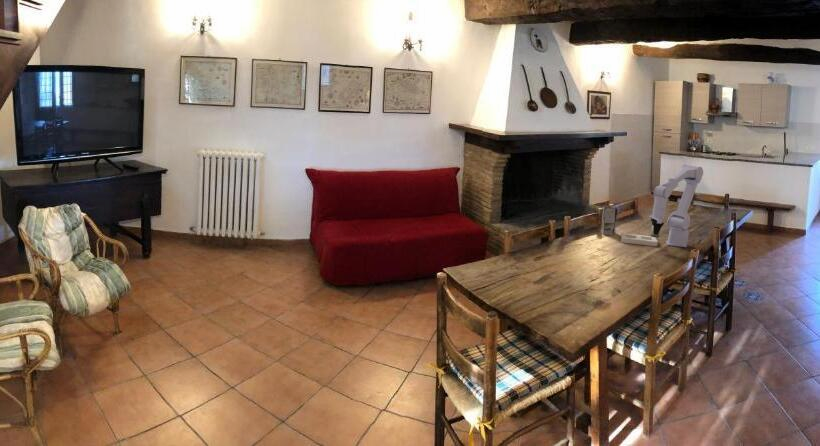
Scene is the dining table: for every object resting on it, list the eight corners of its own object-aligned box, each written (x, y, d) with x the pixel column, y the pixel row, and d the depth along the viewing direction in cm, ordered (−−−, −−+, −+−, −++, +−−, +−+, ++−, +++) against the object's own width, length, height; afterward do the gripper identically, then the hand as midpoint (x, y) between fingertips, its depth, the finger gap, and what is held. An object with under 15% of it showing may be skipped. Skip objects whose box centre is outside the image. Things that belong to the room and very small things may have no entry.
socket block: (654, 240, 286) (655, 236, 286) (656, 246, 276) (657, 242, 276) (620, 237, 292) (620, 232, 291) (621, 242, 281) (622, 238, 281)
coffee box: (614, 235, 294) (618, 208, 290) (602, 234, 295) (606, 208, 291) (611, 231, 302) (615, 205, 298) (600, 230, 304) (603, 204, 299)
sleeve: (658, 235, 271) (660, 224, 269) (659, 237, 267) (661, 226, 265) (649, 234, 272) (651, 224, 270) (650, 236, 268) (652, 226, 266)
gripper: (649, 204, 273) (645, 229, 277) (652, 210, 260) (648, 236, 263) (663, 206, 271) (659, 230, 275) (667, 212, 258) (663, 237, 261)
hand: (655, 233), depth 269 cm, fingers closed on sleeve, 4 cm apart
